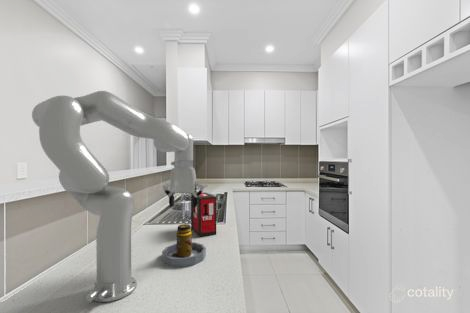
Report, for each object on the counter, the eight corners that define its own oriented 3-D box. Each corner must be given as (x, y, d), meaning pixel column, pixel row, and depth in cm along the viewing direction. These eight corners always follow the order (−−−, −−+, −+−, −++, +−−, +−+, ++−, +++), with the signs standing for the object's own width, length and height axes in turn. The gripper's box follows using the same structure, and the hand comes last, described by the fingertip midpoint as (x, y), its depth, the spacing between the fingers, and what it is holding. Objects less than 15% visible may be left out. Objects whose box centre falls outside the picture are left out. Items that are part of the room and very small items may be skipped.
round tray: (199, 267, 85) (199, 259, 85) (155, 265, 87) (155, 257, 87) (209, 249, 102) (209, 242, 102) (171, 248, 104) (171, 241, 104)
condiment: (195, 256, 94) (195, 226, 94) (174, 261, 89) (174, 230, 89) (188, 250, 100) (188, 222, 100) (168, 254, 95) (168, 225, 95)
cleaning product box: (216, 234, 122) (216, 196, 122) (200, 237, 118) (199, 198, 118) (205, 226, 137) (205, 192, 137) (191, 228, 133) (190, 193, 133)
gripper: (159, 164, 92) (159, 208, 92) (202, 165, 90) (202, 209, 90) (167, 164, 100) (166, 204, 99) (206, 164, 98) (206, 205, 98)
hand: (183, 206), depth 95 cm, fingers open, 9 cm apart
